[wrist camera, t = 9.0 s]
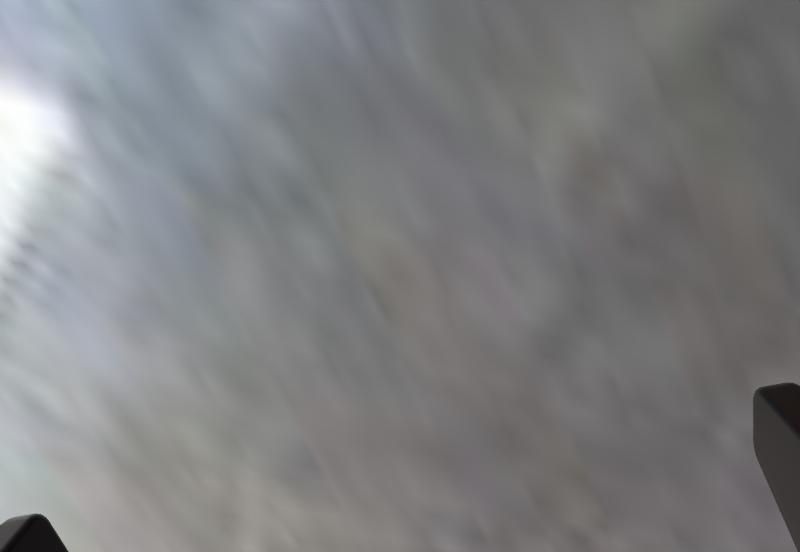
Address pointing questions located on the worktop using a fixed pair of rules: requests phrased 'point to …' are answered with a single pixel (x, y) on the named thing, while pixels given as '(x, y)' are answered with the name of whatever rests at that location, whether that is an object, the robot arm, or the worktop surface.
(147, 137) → the worktop surface
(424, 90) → the worktop surface
